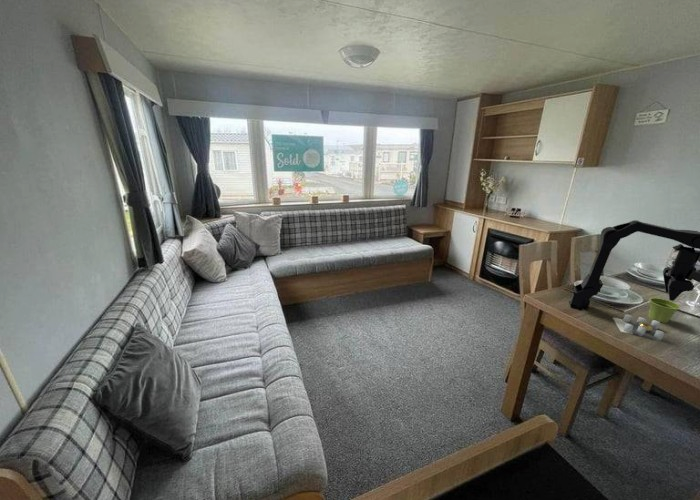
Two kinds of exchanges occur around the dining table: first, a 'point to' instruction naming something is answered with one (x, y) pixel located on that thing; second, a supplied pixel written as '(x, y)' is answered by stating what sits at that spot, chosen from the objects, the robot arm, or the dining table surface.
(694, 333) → the dining table surface
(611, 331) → the dining table surface
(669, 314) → the plant pot
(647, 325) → the brass knob
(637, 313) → the dining table surface
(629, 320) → the board
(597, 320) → the dining table surface
